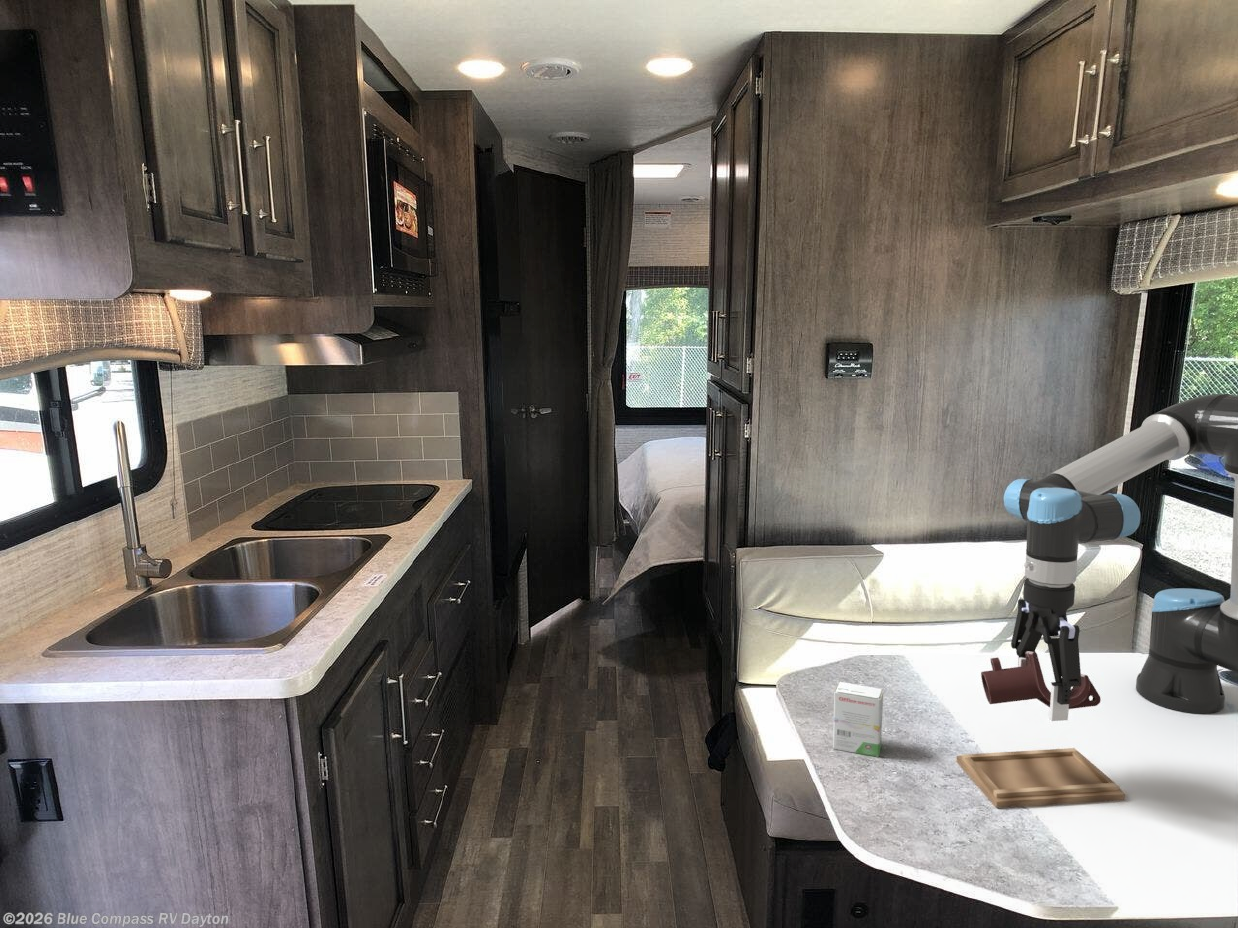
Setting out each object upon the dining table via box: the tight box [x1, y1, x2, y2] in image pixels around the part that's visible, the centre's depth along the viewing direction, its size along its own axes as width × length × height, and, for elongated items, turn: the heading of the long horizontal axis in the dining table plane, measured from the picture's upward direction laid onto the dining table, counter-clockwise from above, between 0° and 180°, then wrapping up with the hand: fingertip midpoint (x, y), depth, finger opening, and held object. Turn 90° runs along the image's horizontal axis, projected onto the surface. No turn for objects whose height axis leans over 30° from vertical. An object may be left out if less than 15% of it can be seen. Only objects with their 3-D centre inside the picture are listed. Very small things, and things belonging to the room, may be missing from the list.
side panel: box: [956, 747, 1126, 809], centre depth 136 cm, size 22×14×2 cm, turn 93°
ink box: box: [832, 681, 884, 758], centre depth 148 cm, size 9×5×12 cm, turn 65°
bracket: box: [980, 651, 1102, 710], centre depth 134 cm, size 6×17×10 cm, turn 78°
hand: (1041, 705), depth 134 cm, fingers closed on bracket, 9 cm apart
